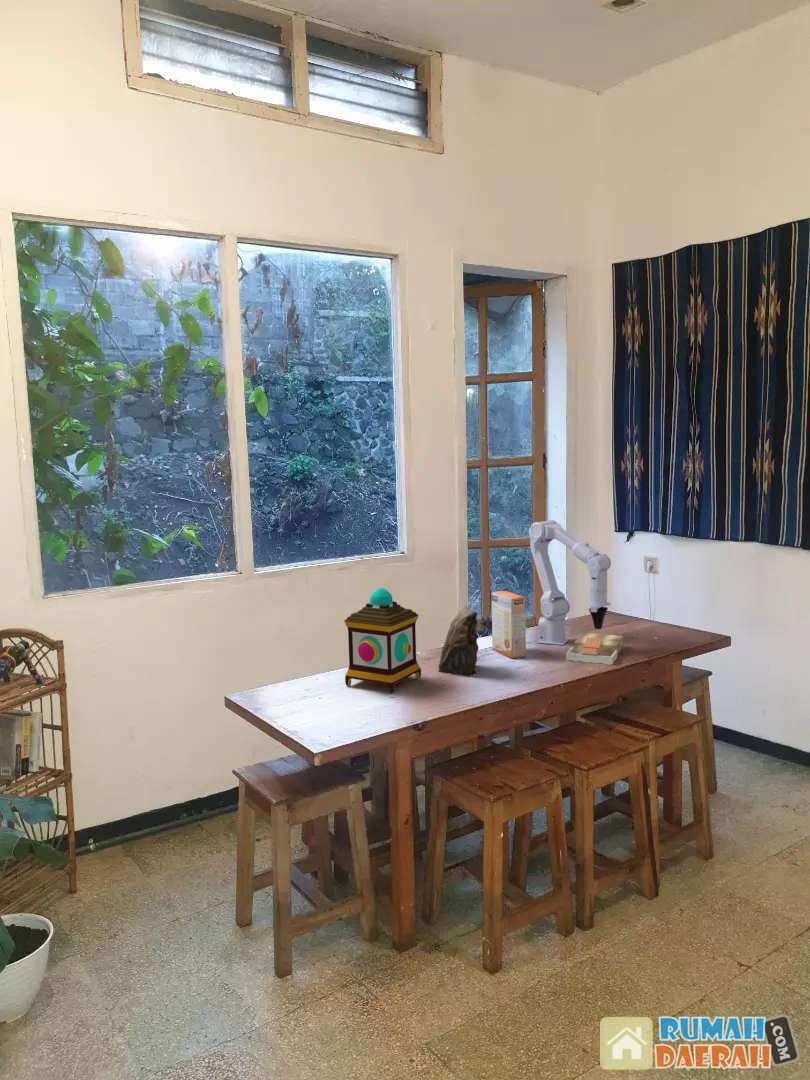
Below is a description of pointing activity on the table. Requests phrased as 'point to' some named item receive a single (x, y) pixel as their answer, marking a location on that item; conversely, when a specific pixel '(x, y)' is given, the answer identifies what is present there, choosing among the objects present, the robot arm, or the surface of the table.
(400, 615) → the decorative lantern
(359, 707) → the table surface
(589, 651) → the tile front
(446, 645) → the brown rock
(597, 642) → the tile rear
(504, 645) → the cracker box
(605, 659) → the tray
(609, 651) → the beige square tray
